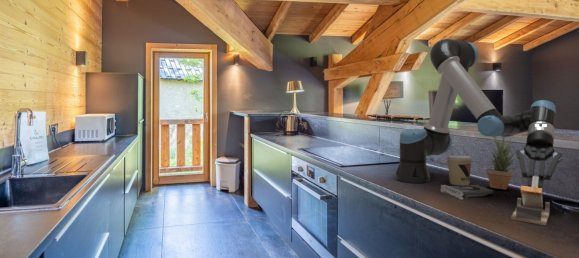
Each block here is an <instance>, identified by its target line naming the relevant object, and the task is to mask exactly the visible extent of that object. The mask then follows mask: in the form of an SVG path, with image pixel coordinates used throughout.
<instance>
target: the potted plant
mask: <svg viewBox="0 0 579 258" xmlns="http://www.w3.org/2000/svg"><path fill="white" fill-rule="evenodd" d="M493 139H494V143H495V146H496V148H497V149H495V147H494V145H491V147H492V150H493V151H492V156H493V158H494V159H493V158H492V157H491V156H490V157H489V158H490V159H491V163H492V165H493V168H494V169H491V168H488V169H487V168H486V170H485V172H486V174H487V177H488V182H489V187H490V188H491V189H492V188H493V189H496V190H497V189H498V190H506V191H507V189H508V187H509V185H510V182H511V179H512V178H513V177H514V173H515V172H514V171H510V170H511V169H512V168H511V167H510V166H511V165H513V164H514V163H515V159H514V158H513V156H515V155H516V152H514V153H513V154H511V155H510V153H511V150H512V147H511V146H512V145H511V141H512V138H510V139H509V141H508V142H507V145H506V146H505V137H502V142H500V139H498V140H497V136H496V137H493ZM512 158H513V159H512ZM509 167H510V168H509Z"/></svg>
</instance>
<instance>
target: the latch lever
mask: <svg viewBox="0 0 579 258" xmlns="http://www.w3.org/2000/svg"><path fill="white" fill-rule="evenodd" d="M520 194H521V198H522V206H523V207H528V208H534V209H541V210H544V204H543V203H544V201H543V188H537V187H528V185H527V186H526V185H520Z"/></svg>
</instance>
